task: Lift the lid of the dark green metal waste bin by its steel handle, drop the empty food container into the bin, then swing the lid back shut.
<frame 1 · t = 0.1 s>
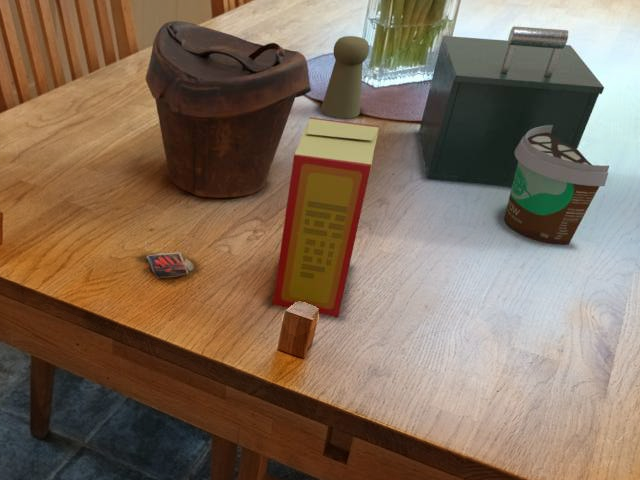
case: (220, 179, 94), on the table
bin lid: (522, 40, 90), point 16 cm above the table, hinge at 0.0°
baking soda box: (311, 287, 75), on the table
waste bin: (483, 159, 100), on the table
food container: (522, 227, 86), on the table
matchbox: (170, 268, 77), on the table
olive pawn figure: (340, 112, 114), on the table
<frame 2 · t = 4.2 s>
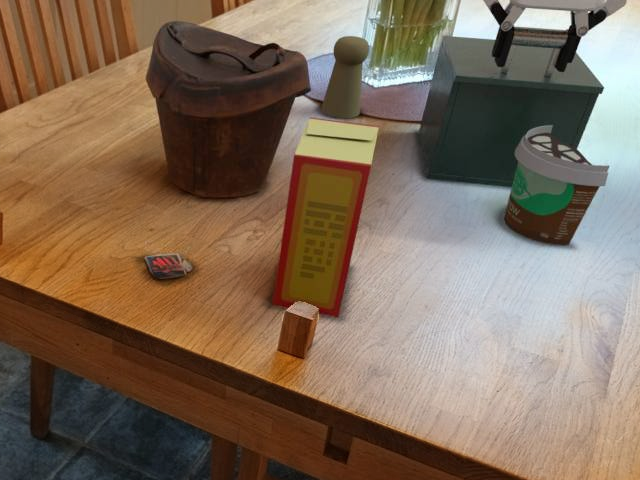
hand: (528, 64, 86), 15 cm above the table, tool pointing down, fingers closed on bin lid, 6 cm apart
bin lid: (522, 41, 90), point 16 cm above the table, hinge at 0.0°, touching gripper
everything else where it was.
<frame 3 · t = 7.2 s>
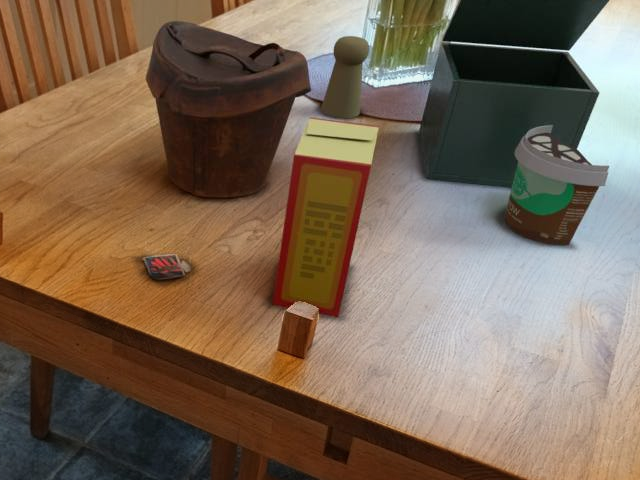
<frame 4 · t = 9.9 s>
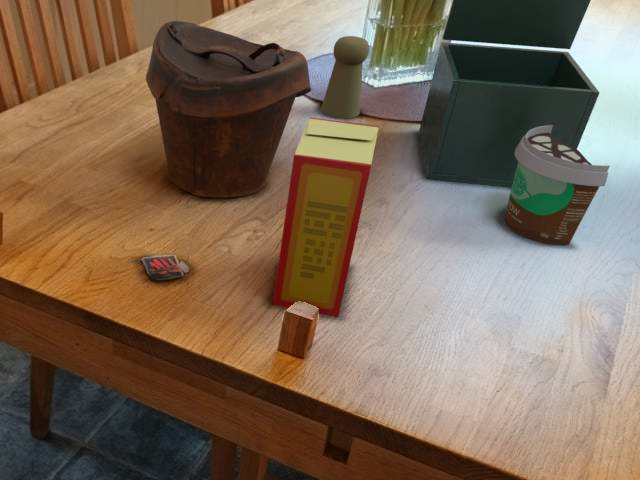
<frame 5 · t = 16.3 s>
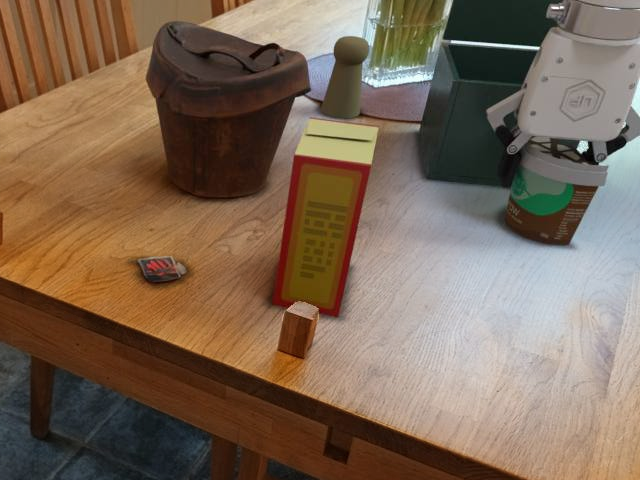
hand: (539, 185, 82), 5 cm above the table, tool pointing down, fingers closed on food container, 7 cm apart
food container: (522, 227, 85), on the table, touching gripper
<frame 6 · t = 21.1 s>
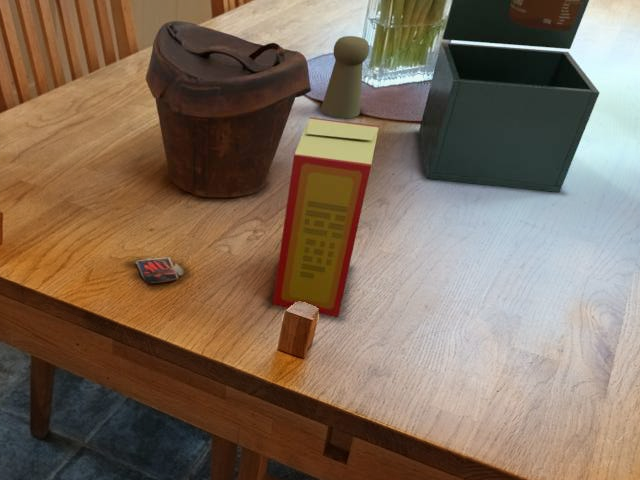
food container: (526, 22, 89), point 18 cm above the table, touching gripper
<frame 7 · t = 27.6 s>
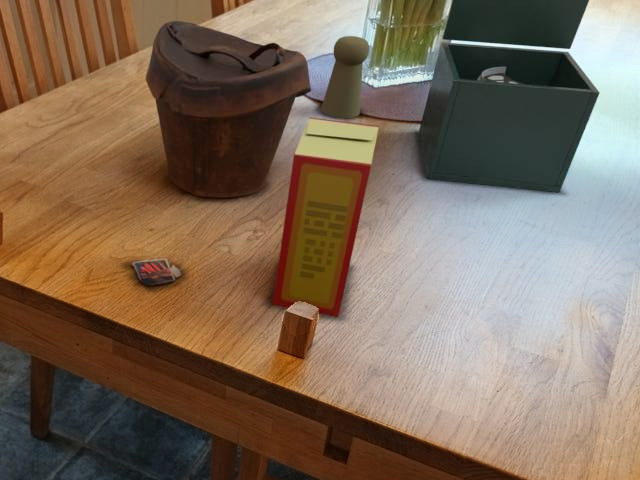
food container: (480, 155, 100), point 1 cm above the table, touching waste bin
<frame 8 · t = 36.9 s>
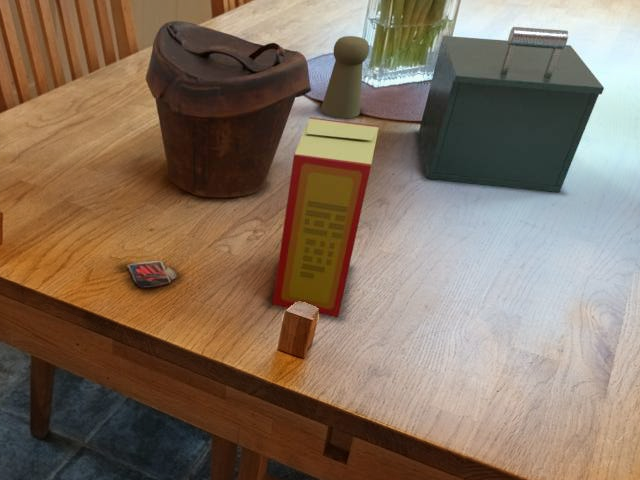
bin lid: (522, 41, 90), point 16 cm above the table, hinge at -0.2°, touching waste bin
at the end: food container inside the target area in the waste bin (0.6 cm from its centre), point 0.6 cm above the waste bin's base; bin lid reached +85° during the clip, +0° at the end; bin lid at +0° (first picture: +0°) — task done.
